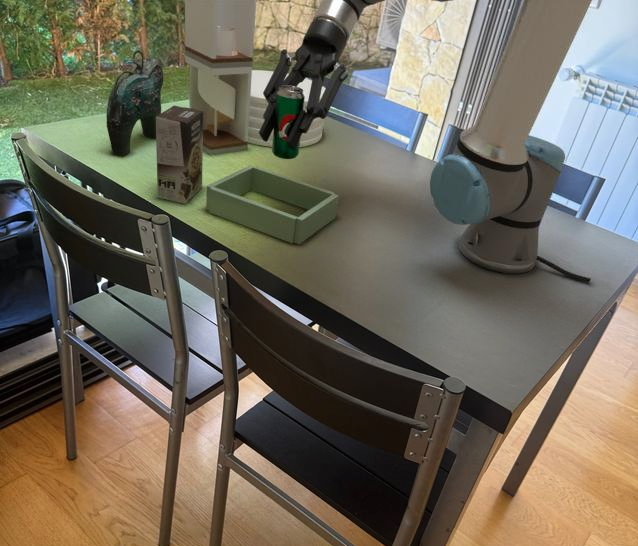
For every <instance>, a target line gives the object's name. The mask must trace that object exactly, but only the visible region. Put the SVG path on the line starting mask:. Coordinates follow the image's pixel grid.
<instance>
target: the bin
mask: <svg viewBox="0 0 638 546" xmlns="http://www.w3.org/2000/svg"><path fill="white" fill-rule="evenodd" d="M250 191H252V192H253V191H254V192H256V193H260V194H261V195H264V196H268V197H271V198H273V199H276V200H279V201H281V202H285V203H286V204H287V203H288V204H290V205H292V206H296V207H299V208H301V209H304V210H307V211H305V212H304V213H302V214H301V215H299V216H297V215H293V214H290V213H288V212H285V211H282V210H279V209H277V208H274V207H271V206H268V205H265V204H262V203H260V202H258V201H254V200H252V199H249V198H247V197H243V195H245V194H246V193H248V192H250ZM205 195H206V197H205V198H206V200H205V201H206V202H205V209H206V210H207V211H208V213H210V214H213V215H215V216H218V217H220V218H223V219H226V220H229V221H232V222H234V223H236V224H239V225H242V226H245V227H246V228H247V227H248V228H250V229H253V230H255V231H258V232H261V233H263V234H266V235H268V236H272V237H274V238H276V239H279V240H282V241H283V242H284V241H285V242H287V243H290V244H294V243H295V244H297V245H300V244H302V243H303V242H305V241H306V240H307V239H308V238H311V237H312V236H313V235H314V234H316V233H317V232H318V231H320V230H321V229H322V228H324V227H325V226H327V225H328V224H329V223H330V222H332V221H333V220H335V219H336V215H337V209H338V204H339V203H338V202H339V198H340V197H339V196H340V195H338V194H336V193H335V192H333V191H330V190H327V189H325V188H321V187H320V186H319V187H318V186H316V185H313V184H311V183H307V182H304V181H301V180H298V179H295V178H292V177H289V176H287V175H284V174H281V173H277V172H275V171H271V170H268V169H265V168H263V167H260V166H253V165H248V166H246V167H243V168H241V169H239V170H237V171H234V172H233V173H231V174H229V175H226V176H224V177H222V178H221V179H220V178H219V179H218V180H215V181H213V182H212V183H210V184H207V185H206V194H205Z"/></svg>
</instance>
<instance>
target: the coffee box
mask: <svg viewBox="0 0 638 546" xmlns="http://www.w3.org/2000/svg"><path fill="white" fill-rule="evenodd" d="M203 112H204V111H202V110H197V109H192V108H189V107H185V106H178V105H172V106H171V107H169V108H168V109H166V110H164V111H162V112H161V114H159V115H158V116H156V139H155V141H156V142H155V145H156V189H157V190H156V191H157V192H156V193H157V198H158V199H163V200H166V201H170V202H171V201H172V202H176V203H179V204H185V205H187V204H188V203H189V202H190V200H192V199H193V198H194V197H195V196H196V195H197V194H198V193H199V192H200V191H201V190H203V162H204V161H203V160H204V159H203V158H204V157H203V152H204V151H203Z"/></svg>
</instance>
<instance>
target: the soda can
mask: <svg viewBox="0 0 638 546" xmlns="http://www.w3.org/2000/svg"><path fill="white" fill-rule="evenodd" d="M304 99H305V96H304V94H303V89H301V88H299V87H296V86H289V85H284V86H280V87H279V90H278V92H277V93H276V105H275V118H274V131H273V144H272V147H271V152H272V154H273V155H274V156H275V157H276V158H279V159H281V160H293V159H296V158H297V157H299V154H300V147H299V146H300V139H299V141H298V143H297V145H296V147H295V149H294V150H291V149H290V147H289V145H288V144H287V142H286V141H287V139H288V136H289V134H290V132H291V130H292V128H293V126H294V124H295V122H296V120H297V118H298V116H299V114H300V112H301V110H303V108H304Z"/></svg>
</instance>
